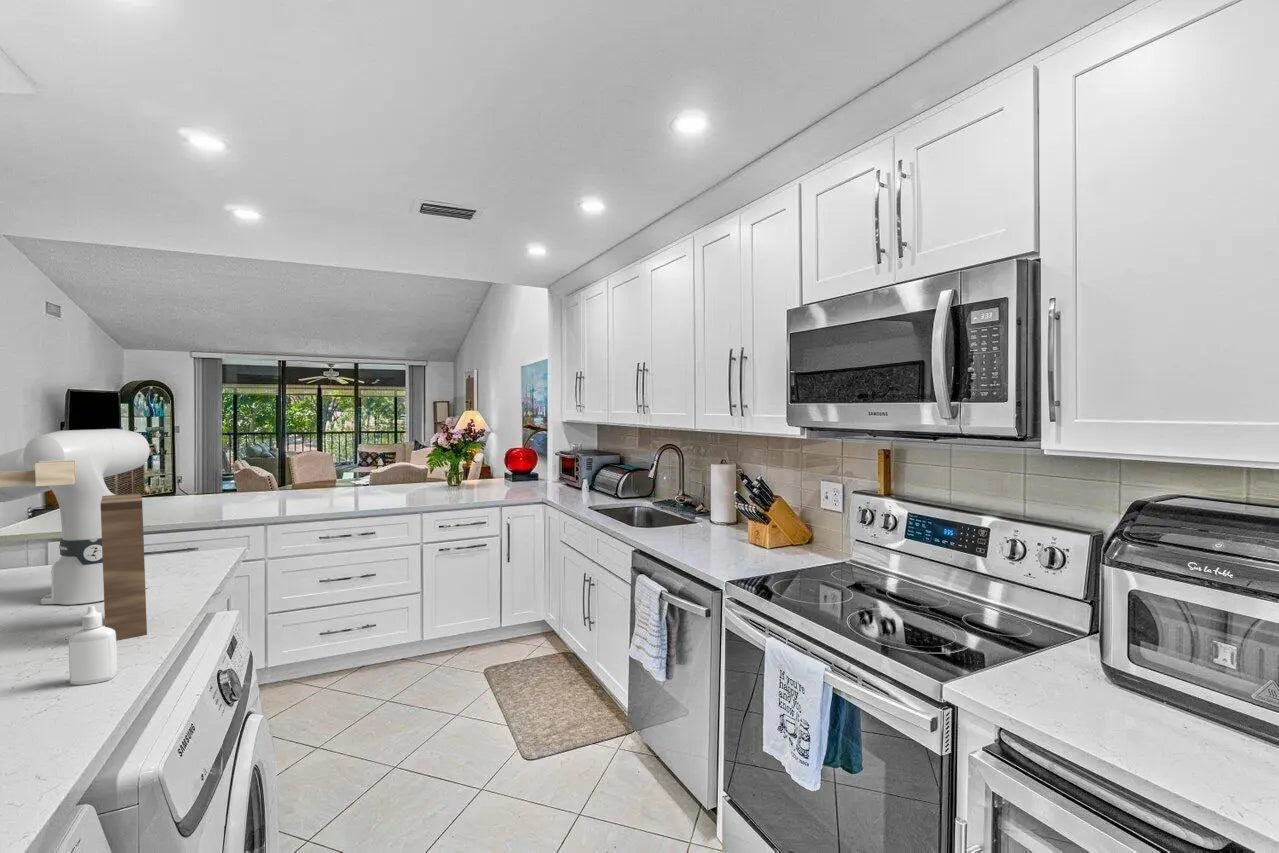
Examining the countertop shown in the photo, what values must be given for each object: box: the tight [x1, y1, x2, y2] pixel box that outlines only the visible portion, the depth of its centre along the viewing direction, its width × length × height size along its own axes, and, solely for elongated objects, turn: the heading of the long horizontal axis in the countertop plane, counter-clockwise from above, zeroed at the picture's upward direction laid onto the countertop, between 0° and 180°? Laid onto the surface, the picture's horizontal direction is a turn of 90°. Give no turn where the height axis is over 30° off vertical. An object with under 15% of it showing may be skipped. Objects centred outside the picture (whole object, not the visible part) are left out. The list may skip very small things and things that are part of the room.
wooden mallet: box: [0, 460, 76, 487], centre depth 111 cm, size 8×14×4 cm, turn 130°
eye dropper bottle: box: [68, 605, 118, 686], centre depth 98 cm, size 4×6×12 cm
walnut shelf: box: [101, 492, 148, 641], centre depth 121 cm, size 14×6×26 cm, turn 40°
